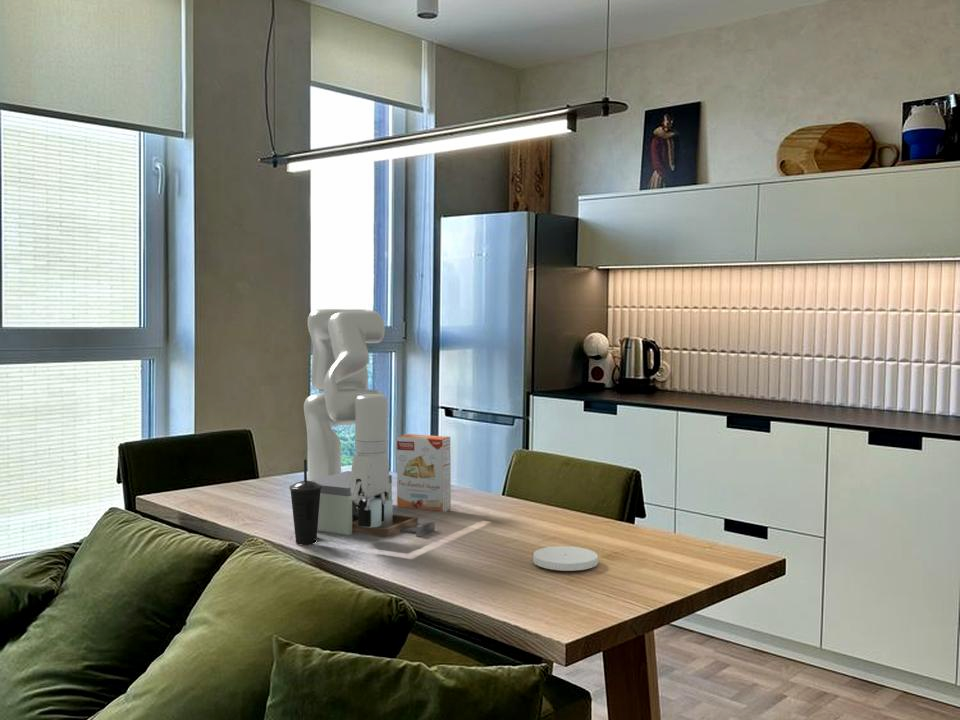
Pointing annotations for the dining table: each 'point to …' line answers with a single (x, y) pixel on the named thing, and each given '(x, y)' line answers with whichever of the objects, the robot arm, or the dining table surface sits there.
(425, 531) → the tray
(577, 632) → the dining table surface
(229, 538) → the dining table surface
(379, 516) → the pale blue cylinder
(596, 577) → the dining table surface
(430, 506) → the cracker box
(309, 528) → the drinking cup
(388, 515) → the pale tall cylinder
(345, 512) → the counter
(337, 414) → the robot arm
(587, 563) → the plastic lid
